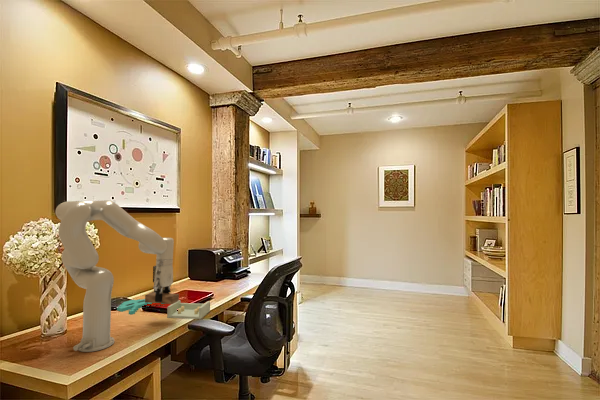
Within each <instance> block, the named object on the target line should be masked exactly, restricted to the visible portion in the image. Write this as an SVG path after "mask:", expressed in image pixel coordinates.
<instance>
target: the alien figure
mask: <svg viewBox="0 0 600 400" xmlns="http://www.w3.org/2000/svg"><path fill="white" fill-rule="evenodd" d="M147 304H152V303H146V302H145V298H142V299H140V298H139V299H130V300H127V301H123V303H122V302H121V304H119V305H118V306H117V308H116V310H117V311H118V312H121V313H123V312H126V311H128V315H130V316H131V315H135V314H136V313H137V311H139V309H141V308H143V307H142V306H144V305H147Z"/></svg>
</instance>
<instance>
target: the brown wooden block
mask: <svg viewBox="0 0 600 400" xmlns="http://www.w3.org/2000/svg"><path fill="white" fill-rule="evenodd" d="M179 296H180V294H179V293H171V292H170V293H162V302H155V292H154V291H153V292H150V293H147V294H145V295H144V299H145V302H146V303H161V304H165V305H171V304H174V303H176V302H178V301H179V300H180V299H179Z"/></svg>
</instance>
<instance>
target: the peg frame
mask: <svg viewBox="0 0 600 400" xmlns="http://www.w3.org/2000/svg"><path fill="white" fill-rule="evenodd" d="M166 309H167V312H166V314H167V317H166V318H168V319H188V320H189V319H191V320H192V319H193V320H194V319H196V320H198V319H199V320H201V319H203V318H204V317H205V316H207V315H208V314H209V312H211V301H210V300H208V301H206V302H205V303H193V302H191V303H188V302H181V300H180V299H179V301H178V302H176V303H174V304H169V305H168V306H166ZM177 309H178V311H177Z"/></svg>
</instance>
